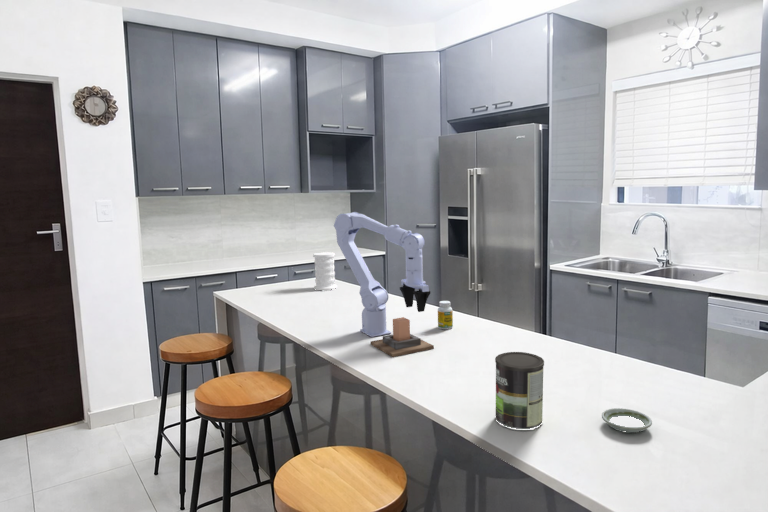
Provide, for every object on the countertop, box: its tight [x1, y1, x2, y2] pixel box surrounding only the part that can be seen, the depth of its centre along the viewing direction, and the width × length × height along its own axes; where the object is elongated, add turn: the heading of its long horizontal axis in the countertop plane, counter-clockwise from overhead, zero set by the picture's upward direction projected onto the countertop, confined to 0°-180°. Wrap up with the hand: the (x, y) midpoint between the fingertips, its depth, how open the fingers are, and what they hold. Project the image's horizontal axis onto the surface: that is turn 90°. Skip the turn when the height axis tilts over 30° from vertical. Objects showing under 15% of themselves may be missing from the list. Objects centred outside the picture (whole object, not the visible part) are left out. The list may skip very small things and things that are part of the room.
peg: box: [392, 316, 411, 341], centre depth 167 cm, size 4×4×8 cm
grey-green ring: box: [601, 407, 653, 433], centre depth 110 cm, size 10×10×2 cm
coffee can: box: [494, 351, 545, 429], centre depth 113 cm, size 10×10×14 cm
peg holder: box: [370, 333, 435, 358], centre depth 168 cm, size 15×15×3 cm
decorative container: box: [312, 251, 338, 291], centre depth 263 cm, size 12×12×18 cm
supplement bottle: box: [437, 300, 454, 330], centre depth 187 cm, size 5×5×10 cm
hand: (415, 309), depth 176 cm, fingers open, 7 cm apart
